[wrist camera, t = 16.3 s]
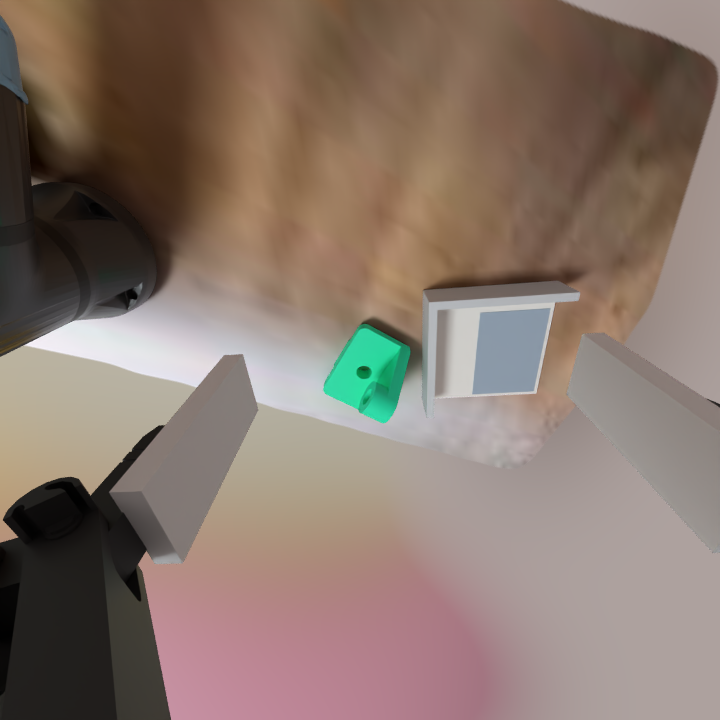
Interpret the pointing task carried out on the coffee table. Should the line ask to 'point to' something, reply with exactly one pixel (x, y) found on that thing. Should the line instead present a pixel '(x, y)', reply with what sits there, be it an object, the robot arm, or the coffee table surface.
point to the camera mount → (369, 373)
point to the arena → (486, 339)
